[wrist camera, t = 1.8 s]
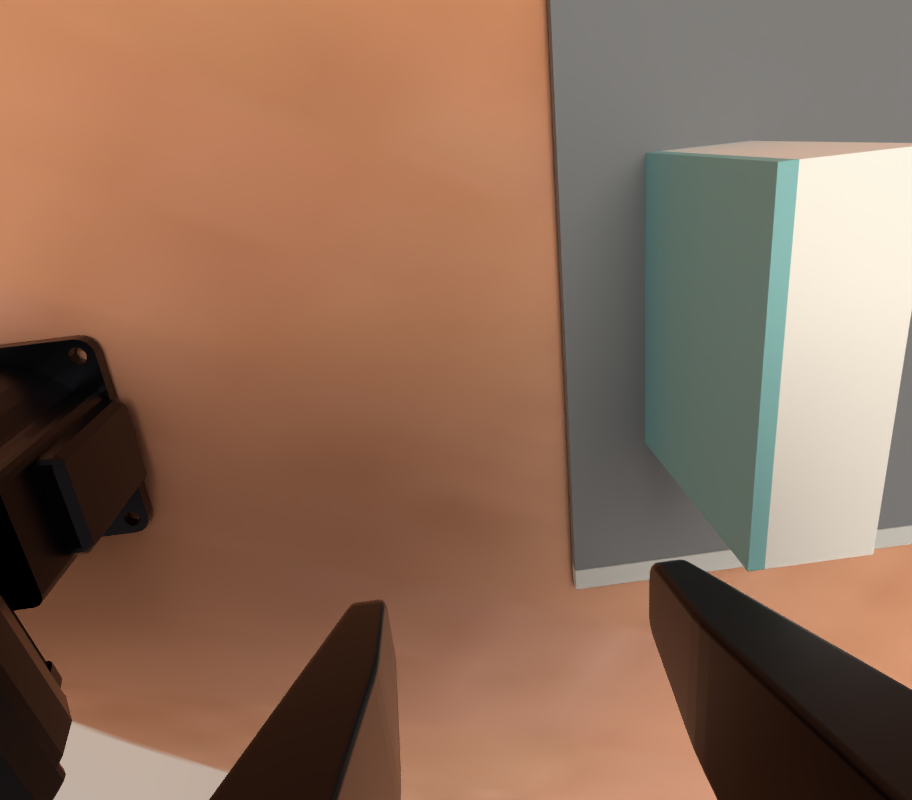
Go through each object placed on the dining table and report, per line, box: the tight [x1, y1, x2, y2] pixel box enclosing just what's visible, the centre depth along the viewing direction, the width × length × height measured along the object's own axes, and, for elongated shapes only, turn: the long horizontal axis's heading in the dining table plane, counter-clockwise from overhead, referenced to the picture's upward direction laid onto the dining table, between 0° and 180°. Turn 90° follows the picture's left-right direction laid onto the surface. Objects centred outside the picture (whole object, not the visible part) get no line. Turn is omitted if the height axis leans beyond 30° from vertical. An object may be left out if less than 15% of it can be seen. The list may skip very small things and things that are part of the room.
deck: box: [645, 141, 912, 571], centre depth 17 cm, size 3×9×7 cm, turn 6°
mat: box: [547, 0, 912, 590], centre depth 21 cm, size 18×20×1 cm
